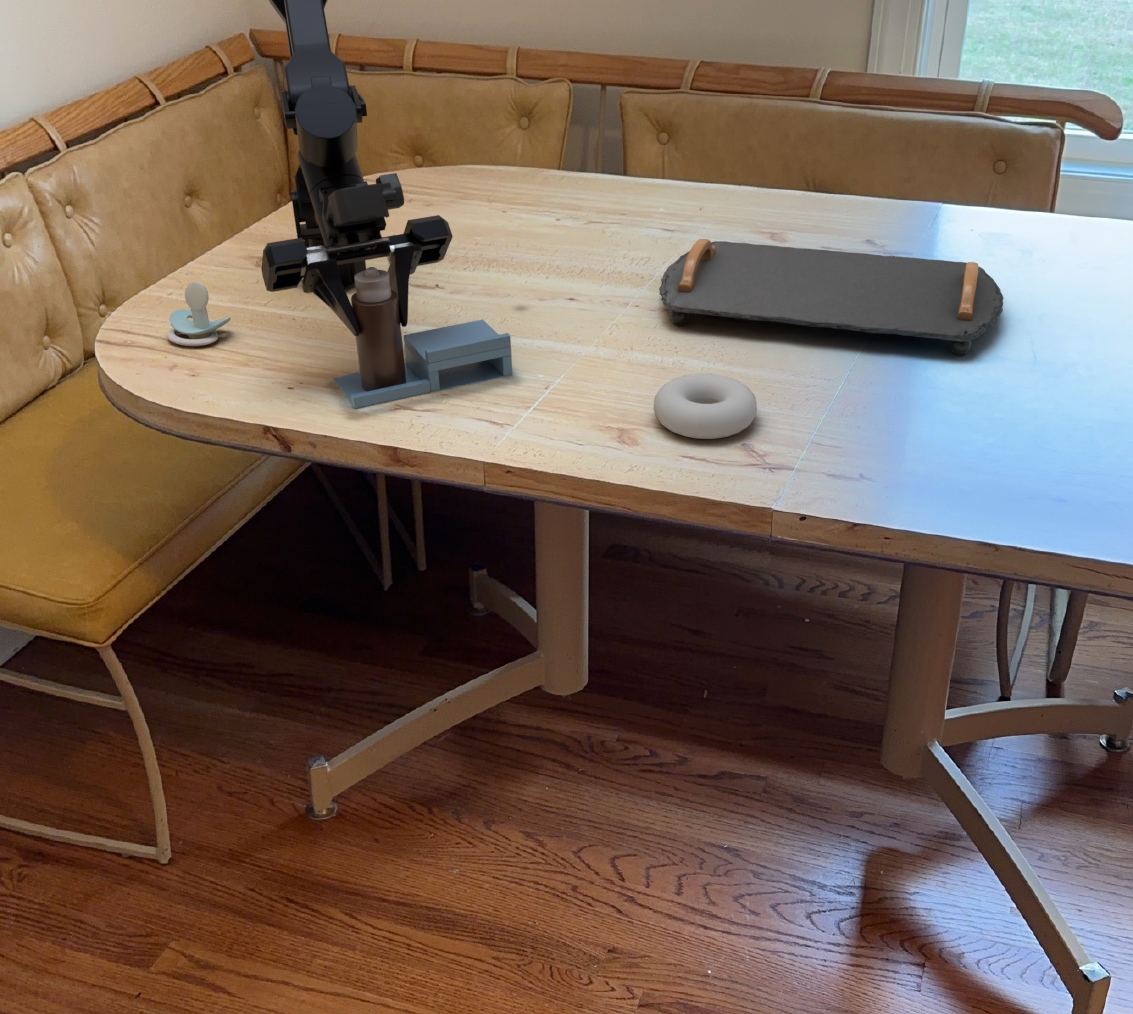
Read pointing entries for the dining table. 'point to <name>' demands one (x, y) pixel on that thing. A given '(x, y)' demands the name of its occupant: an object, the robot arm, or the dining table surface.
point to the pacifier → (194, 319)
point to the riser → (440, 363)
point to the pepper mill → (378, 331)
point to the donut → (705, 406)
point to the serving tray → (834, 290)
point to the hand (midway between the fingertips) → (381, 329)
